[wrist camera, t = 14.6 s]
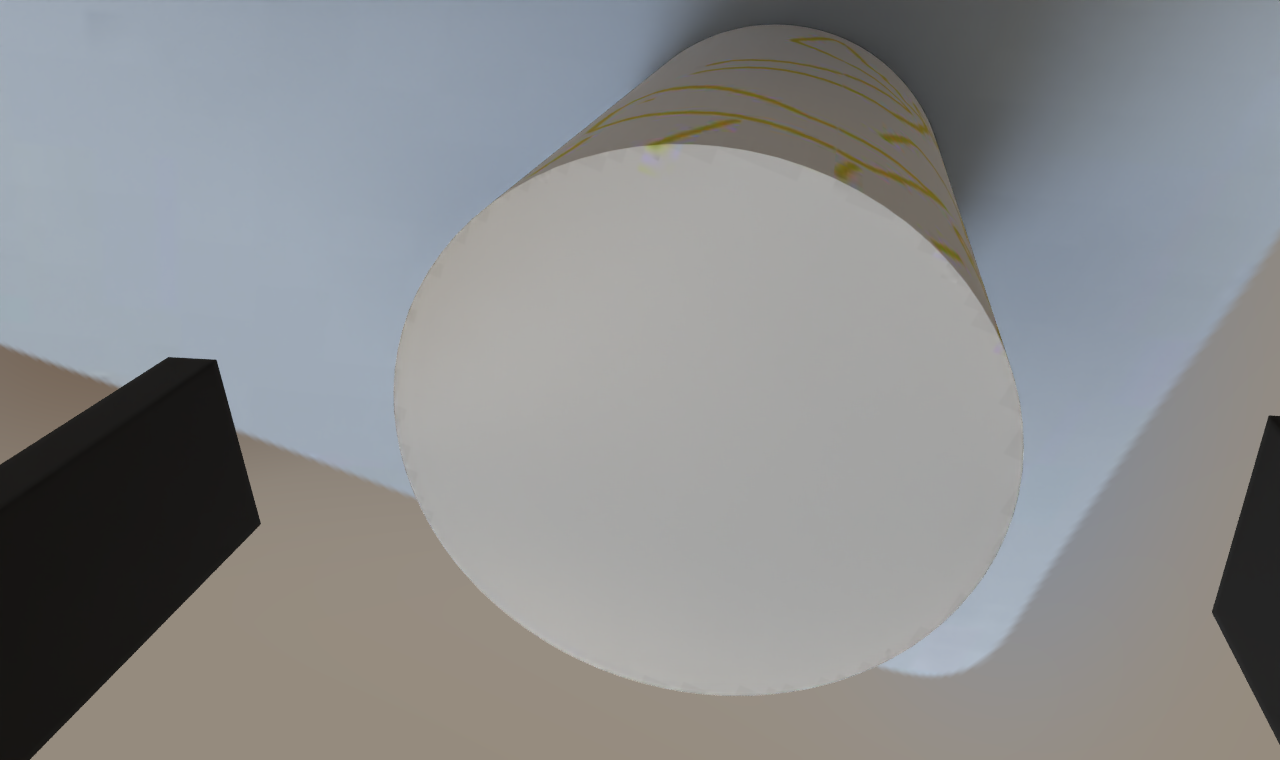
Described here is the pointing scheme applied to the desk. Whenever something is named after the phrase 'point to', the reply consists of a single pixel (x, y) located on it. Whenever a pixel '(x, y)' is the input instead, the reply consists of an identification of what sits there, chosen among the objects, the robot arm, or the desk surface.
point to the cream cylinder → (720, 379)
